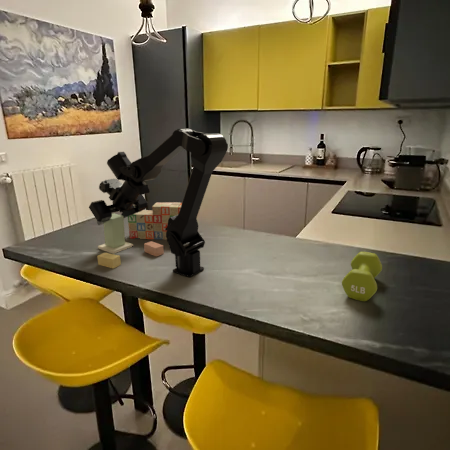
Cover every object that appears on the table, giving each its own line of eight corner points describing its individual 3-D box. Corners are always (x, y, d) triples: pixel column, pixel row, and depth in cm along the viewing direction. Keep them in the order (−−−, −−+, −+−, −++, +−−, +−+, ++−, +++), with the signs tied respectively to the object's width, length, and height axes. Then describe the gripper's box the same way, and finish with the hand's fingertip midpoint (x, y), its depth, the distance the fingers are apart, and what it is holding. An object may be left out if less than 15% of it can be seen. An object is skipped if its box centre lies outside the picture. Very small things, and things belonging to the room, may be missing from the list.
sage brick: (125, 244, 113) (123, 215, 110) (114, 248, 109) (112, 219, 106) (116, 241, 115) (114, 213, 112) (105, 245, 112) (102, 216, 108)
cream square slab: (133, 248, 114) (132, 244, 113) (113, 255, 108) (112, 251, 107) (118, 243, 118) (117, 239, 118) (98, 250, 112) (97, 246, 112)
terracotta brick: (163, 254, 107) (163, 245, 106) (156, 257, 105) (155, 248, 104) (152, 249, 111) (151, 241, 110) (144, 252, 109) (144, 243, 108)
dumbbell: (350, 271, 95) (353, 248, 93) (381, 278, 91) (385, 253, 89) (338, 297, 81) (341, 270, 79) (374, 306, 77) (378, 278, 75)
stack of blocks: (129, 239, 121) (126, 205, 117) (134, 233, 127) (132, 201, 123) (188, 240, 119) (186, 206, 116) (191, 234, 125) (189, 202, 122)
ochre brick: (121, 265, 99) (120, 255, 99) (113, 269, 97) (112, 259, 96) (106, 261, 102) (105, 252, 101) (98, 265, 100) (97, 255, 99)
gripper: (139, 167, 110) (120, 196, 119) (88, 175, 95) (71, 207, 105) (157, 194, 108) (137, 221, 117) (109, 206, 93) (90, 236, 103)
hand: (110, 220), depth 111 cm, fingers open, 9 cm apart
